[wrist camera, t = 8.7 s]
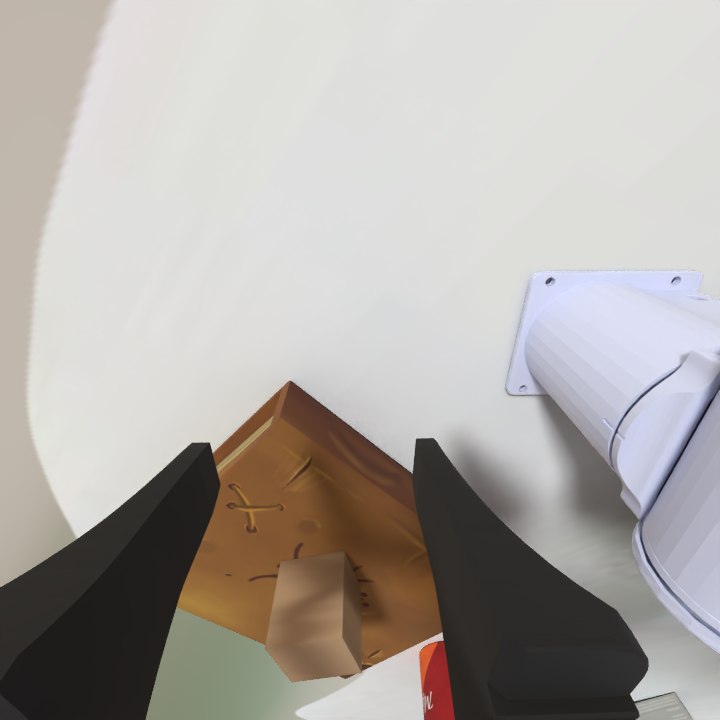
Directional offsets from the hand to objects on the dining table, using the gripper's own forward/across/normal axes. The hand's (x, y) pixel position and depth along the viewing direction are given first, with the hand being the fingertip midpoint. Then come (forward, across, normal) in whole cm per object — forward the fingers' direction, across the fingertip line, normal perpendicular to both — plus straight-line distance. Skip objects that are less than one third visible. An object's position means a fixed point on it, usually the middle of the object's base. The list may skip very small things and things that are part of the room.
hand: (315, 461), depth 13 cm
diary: (+11, +1, +18) cm, 21 cm away
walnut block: (+6, +1, +16) cm, 17 cm away
